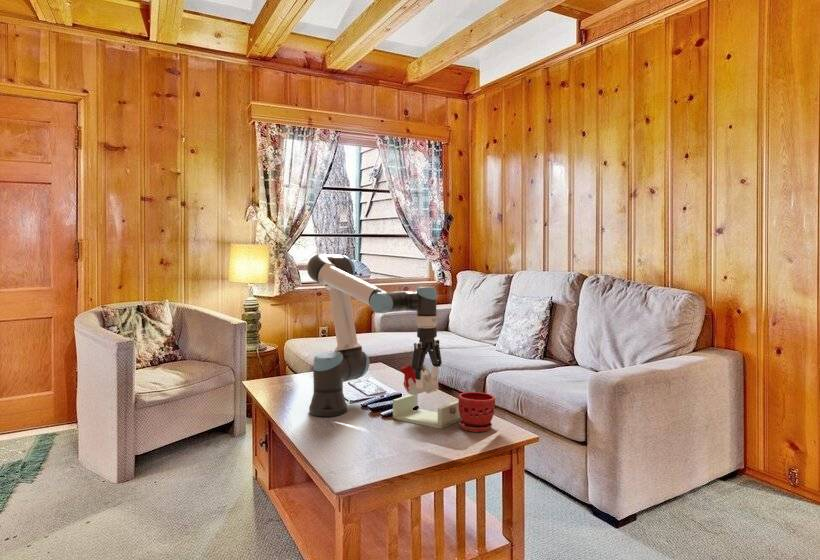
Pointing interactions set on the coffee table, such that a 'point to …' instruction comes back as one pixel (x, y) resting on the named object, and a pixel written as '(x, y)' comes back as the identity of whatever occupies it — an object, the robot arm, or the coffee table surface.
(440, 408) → the holder
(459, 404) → the plant pot
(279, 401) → the coffee table surface
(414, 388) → the candle
